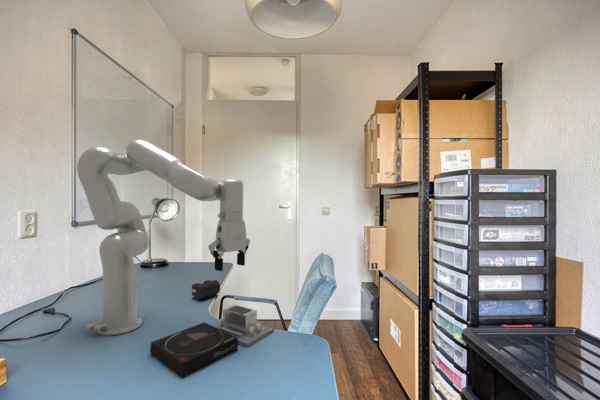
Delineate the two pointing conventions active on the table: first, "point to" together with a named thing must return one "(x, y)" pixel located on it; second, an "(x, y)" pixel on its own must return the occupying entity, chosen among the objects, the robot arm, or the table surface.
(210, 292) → the end cap
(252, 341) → the grey pegged fixture plate
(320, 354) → the table surface
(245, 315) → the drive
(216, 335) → the portable cd player
